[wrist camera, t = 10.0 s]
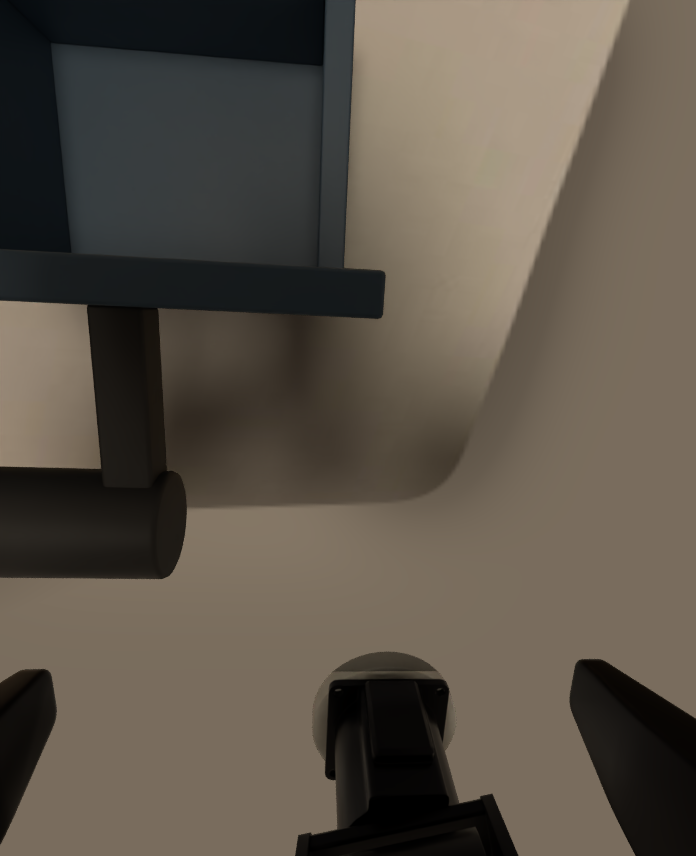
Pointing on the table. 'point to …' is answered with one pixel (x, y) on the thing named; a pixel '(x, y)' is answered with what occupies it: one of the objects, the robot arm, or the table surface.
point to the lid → (136, 401)
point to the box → (177, 128)
